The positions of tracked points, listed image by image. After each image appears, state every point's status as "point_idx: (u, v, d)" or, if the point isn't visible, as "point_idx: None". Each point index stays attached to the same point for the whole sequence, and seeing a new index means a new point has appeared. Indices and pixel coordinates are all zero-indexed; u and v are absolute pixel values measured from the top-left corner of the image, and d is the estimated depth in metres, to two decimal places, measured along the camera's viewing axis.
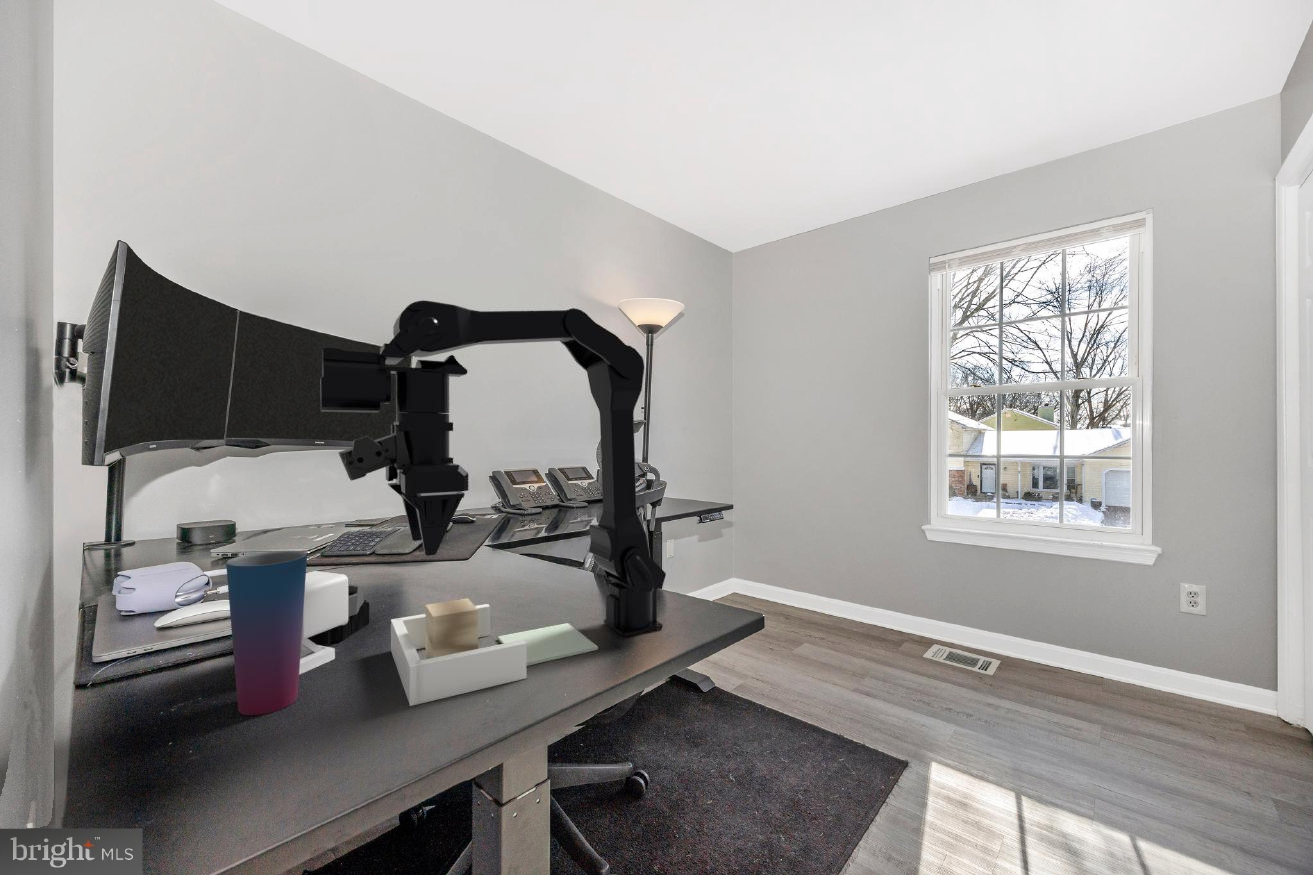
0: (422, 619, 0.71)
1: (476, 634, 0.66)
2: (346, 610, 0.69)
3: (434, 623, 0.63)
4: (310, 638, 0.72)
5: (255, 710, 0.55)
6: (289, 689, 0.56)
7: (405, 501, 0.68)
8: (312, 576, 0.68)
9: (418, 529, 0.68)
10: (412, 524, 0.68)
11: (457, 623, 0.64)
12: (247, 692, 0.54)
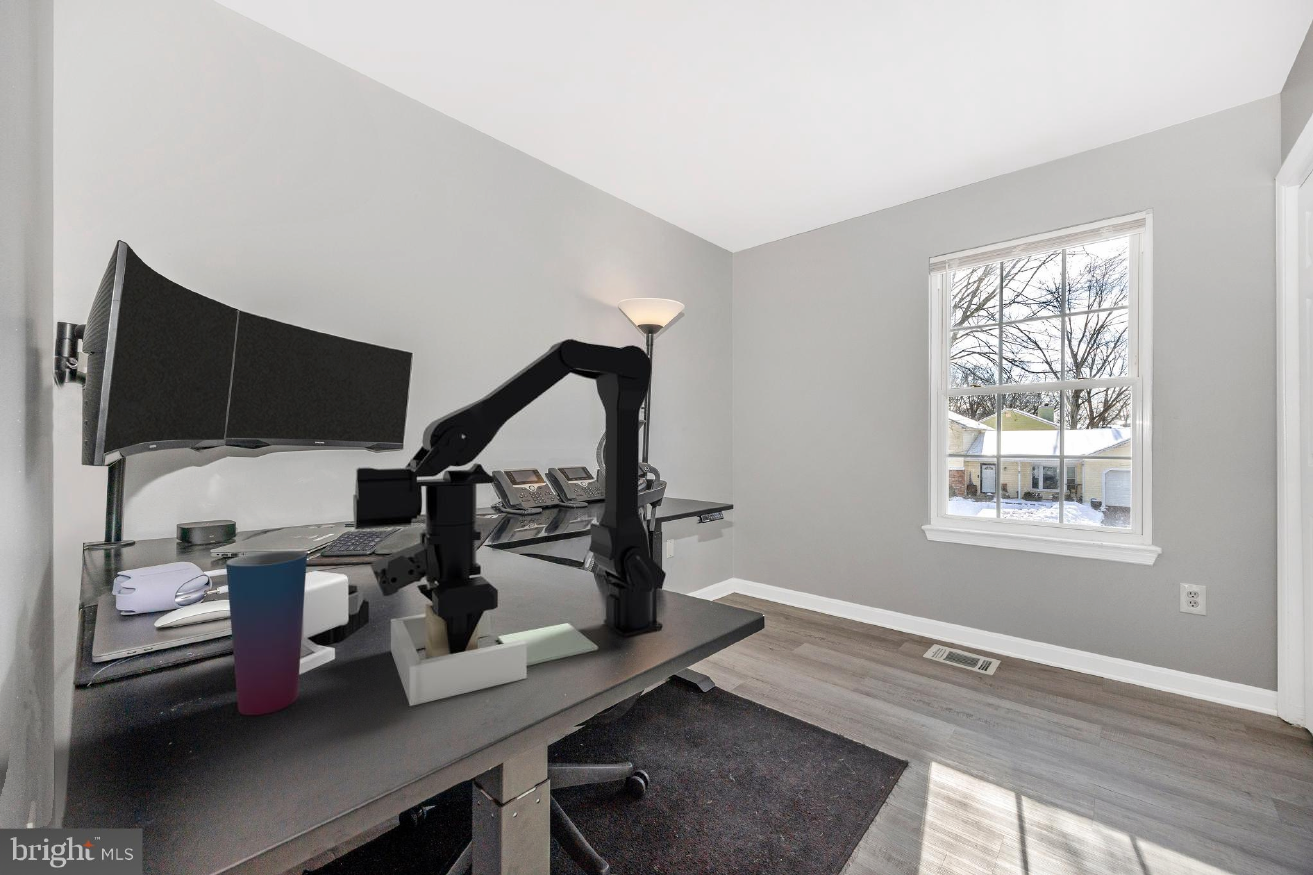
0: (422, 619, 0.71)
1: (476, 633, 0.65)
2: (346, 610, 0.69)
3: (434, 623, 0.63)
4: (312, 637, 0.72)
5: (255, 710, 0.55)
6: (289, 689, 0.56)
7: None
8: (312, 576, 0.68)
9: None
10: None
11: None
12: (247, 692, 0.54)
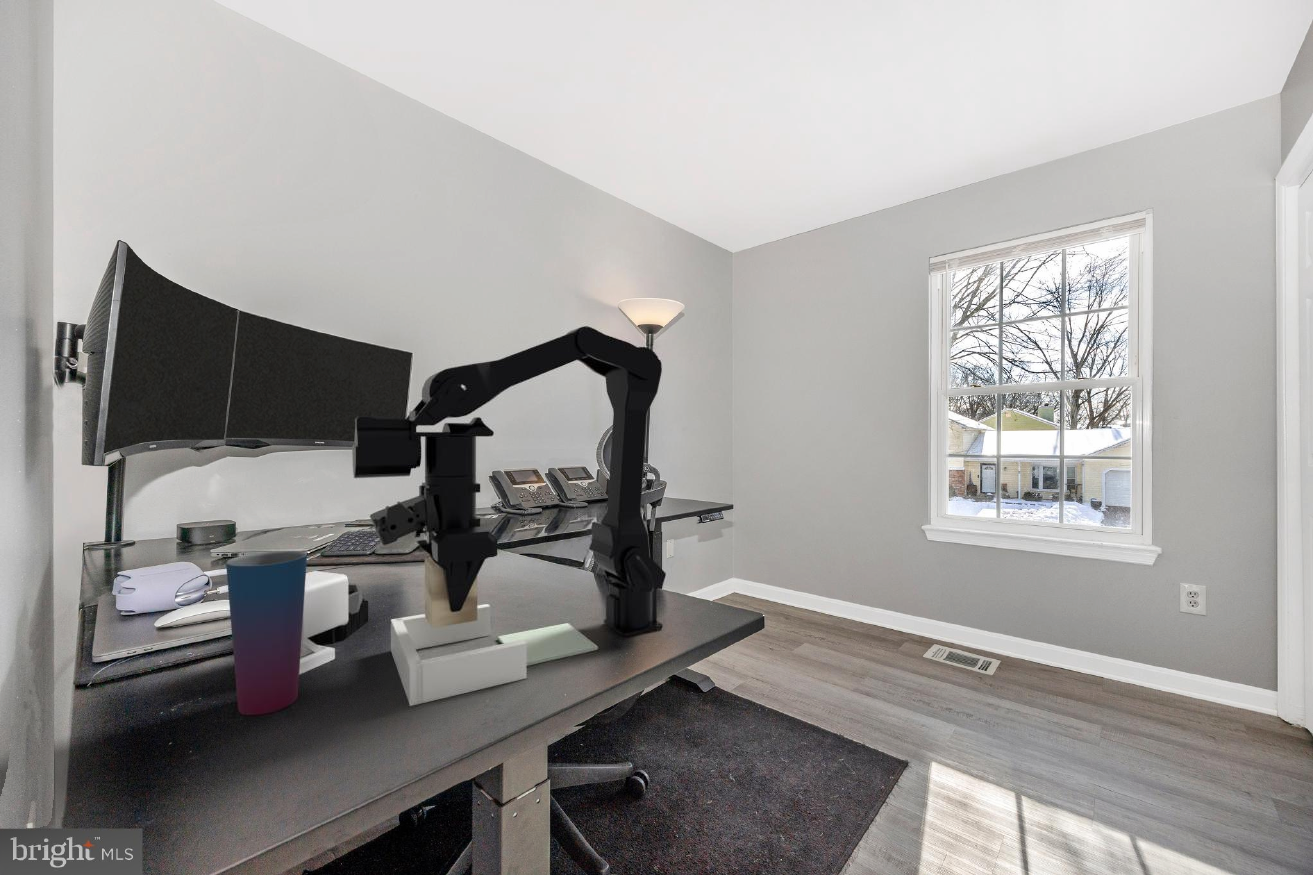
0: (422, 619, 0.71)
1: (476, 586, 0.65)
2: (346, 610, 0.69)
3: (433, 573, 0.63)
4: (314, 637, 0.73)
5: (255, 710, 0.55)
6: (289, 689, 0.56)
7: None
8: (312, 576, 0.68)
9: None
10: None
11: None
12: (247, 692, 0.54)
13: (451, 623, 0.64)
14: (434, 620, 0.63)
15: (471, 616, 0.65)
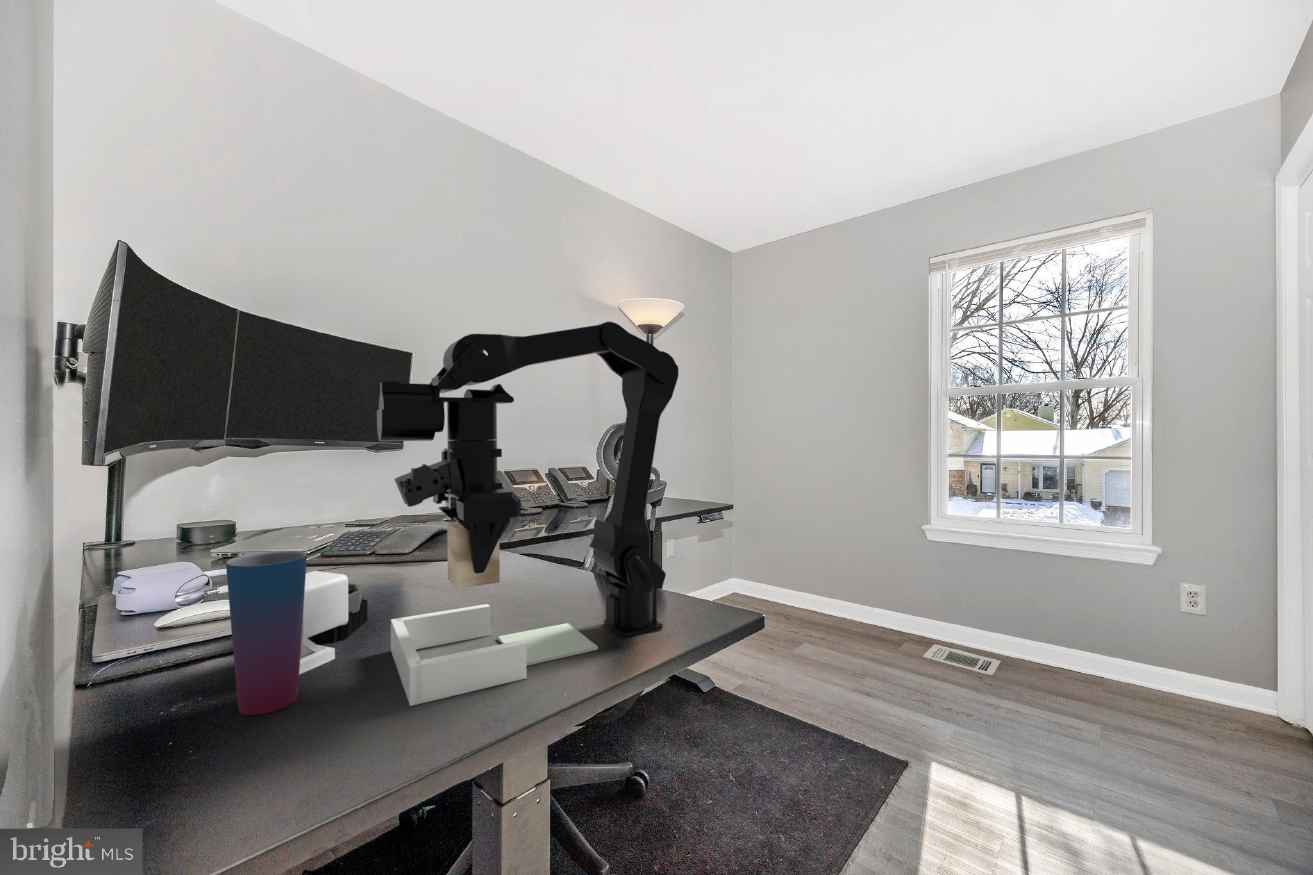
0: (422, 619, 0.71)
1: (498, 549, 0.67)
2: (346, 610, 0.69)
3: (457, 535, 0.64)
4: (315, 636, 0.73)
5: (255, 710, 0.55)
6: (289, 689, 0.56)
7: None
8: (312, 576, 0.68)
9: None
10: None
11: None
12: (247, 692, 0.54)
13: (474, 584, 0.65)
14: (458, 581, 0.64)
15: (494, 578, 0.66)
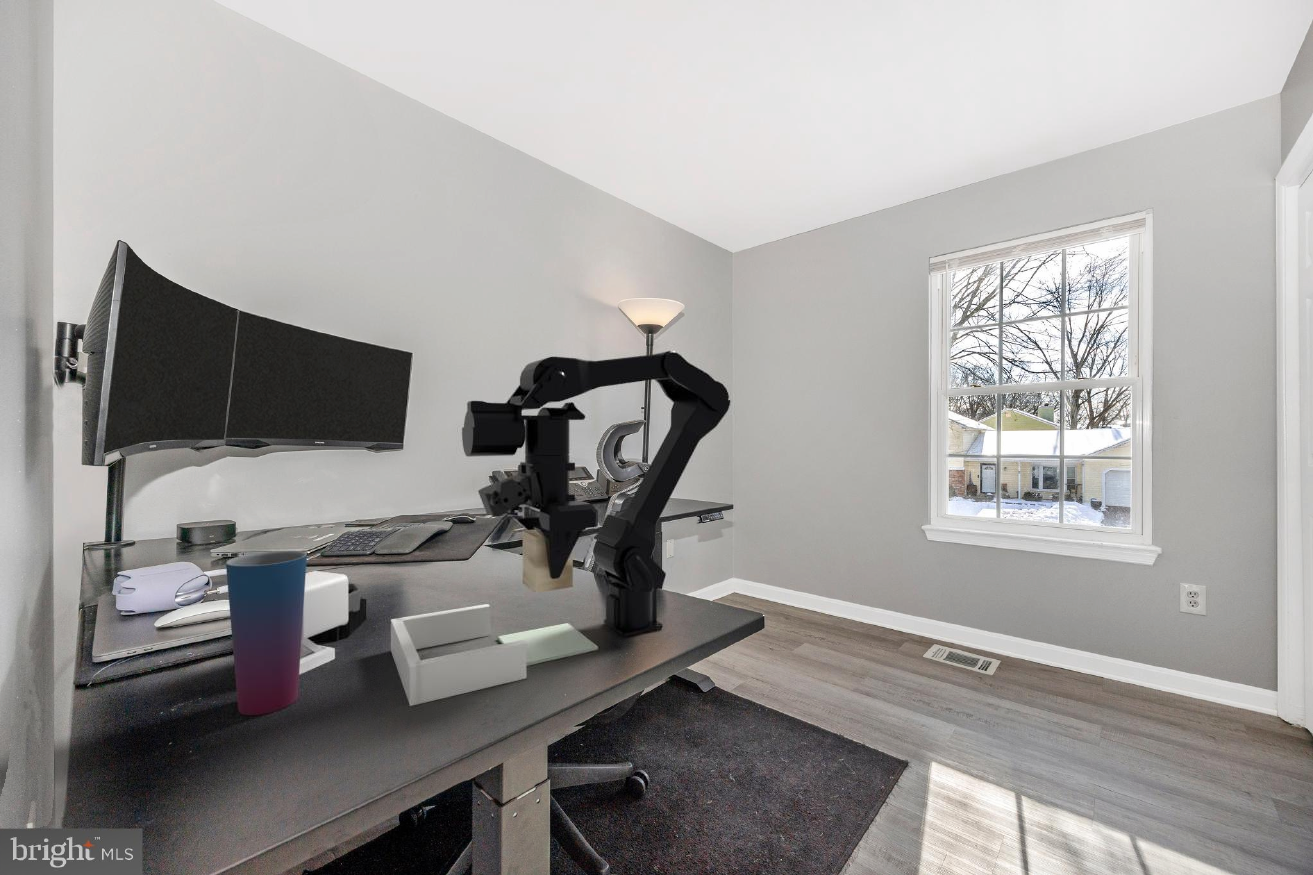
0: (422, 619, 0.71)
1: (571, 555, 0.72)
2: (346, 610, 0.69)
3: (536, 543, 0.69)
4: (317, 635, 0.73)
5: (255, 710, 0.55)
6: (289, 689, 0.56)
7: None
8: (312, 576, 0.68)
9: None
10: None
11: None
12: (247, 692, 0.54)
13: (551, 589, 0.70)
14: (537, 586, 0.69)
15: (567, 583, 0.71)
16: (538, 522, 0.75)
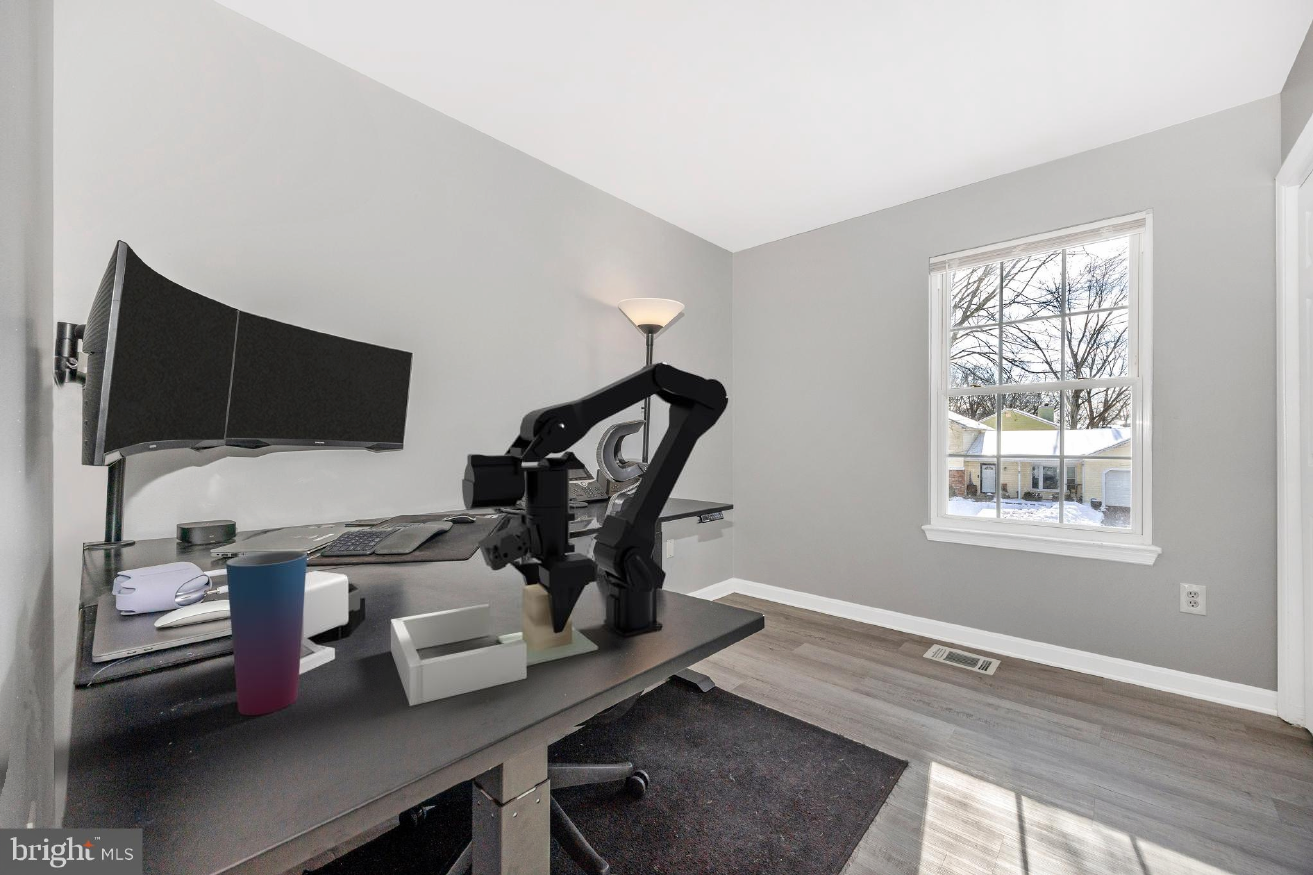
0: (422, 619, 0.71)
1: None
2: (346, 610, 0.69)
3: (536, 602, 0.69)
4: (319, 634, 0.73)
5: (255, 710, 0.55)
6: (289, 689, 0.56)
7: (527, 580, 0.75)
8: (312, 576, 0.68)
9: None
10: None
11: None
12: (247, 692, 0.54)
13: (550, 647, 0.70)
14: (536, 644, 0.69)
15: (567, 640, 0.72)
16: (535, 568, 0.76)
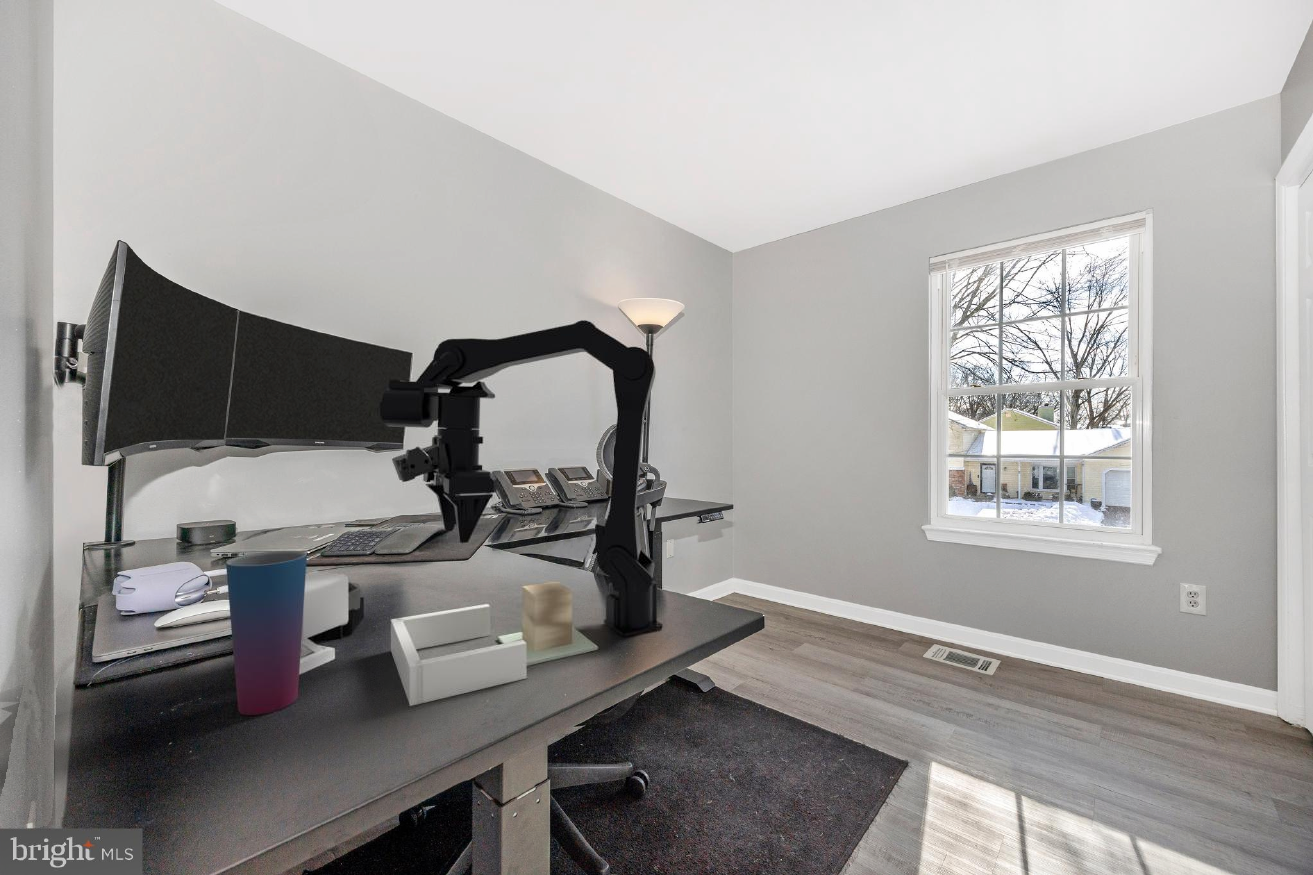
0: (422, 619, 0.71)
1: (571, 612, 0.72)
2: (346, 610, 0.69)
3: (536, 602, 0.69)
4: (321, 633, 0.74)
5: (255, 710, 0.55)
6: (289, 689, 0.56)
7: (440, 499, 0.84)
8: (312, 576, 0.68)
9: (450, 522, 0.84)
10: (445, 517, 0.84)
11: (555, 602, 0.71)
12: (247, 692, 0.54)
13: (550, 647, 0.70)
14: (536, 644, 0.69)
15: (567, 640, 0.72)
16: None
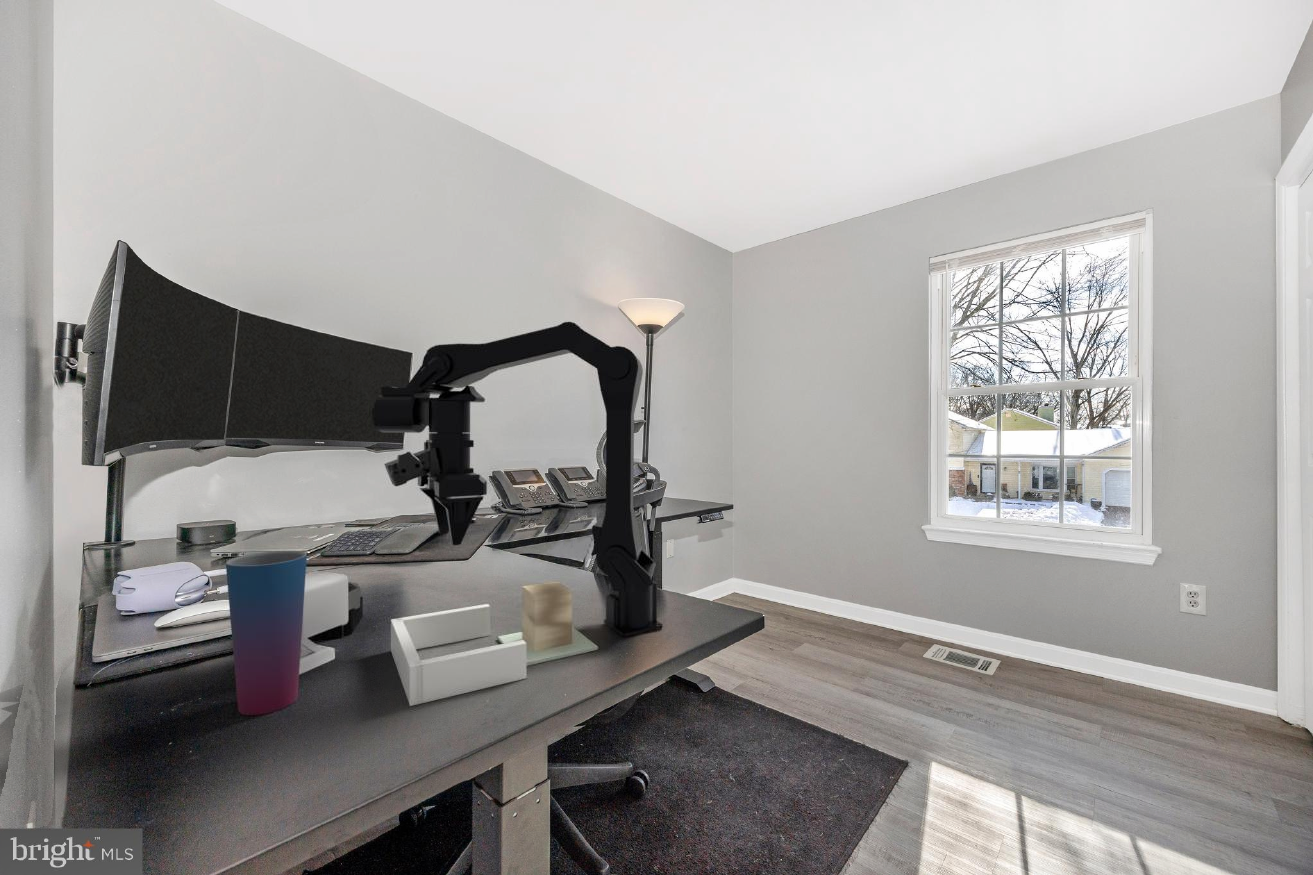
0: (422, 619, 0.71)
1: (571, 612, 0.72)
2: (346, 610, 0.69)
3: (536, 602, 0.69)
4: (322, 633, 0.74)
5: (255, 710, 0.55)
6: (289, 689, 0.56)
7: (434, 502, 0.85)
8: (312, 576, 0.68)
9: (444, 525, 0.85)
10: (439, 521, 0.85)
11: (555, 602, 0.71)
12: (247, 692, 0.54)
13: (550, 647, 0.70)
14: (536, 644, 0.69)
15: (567, 640, 0.72)
16: None
